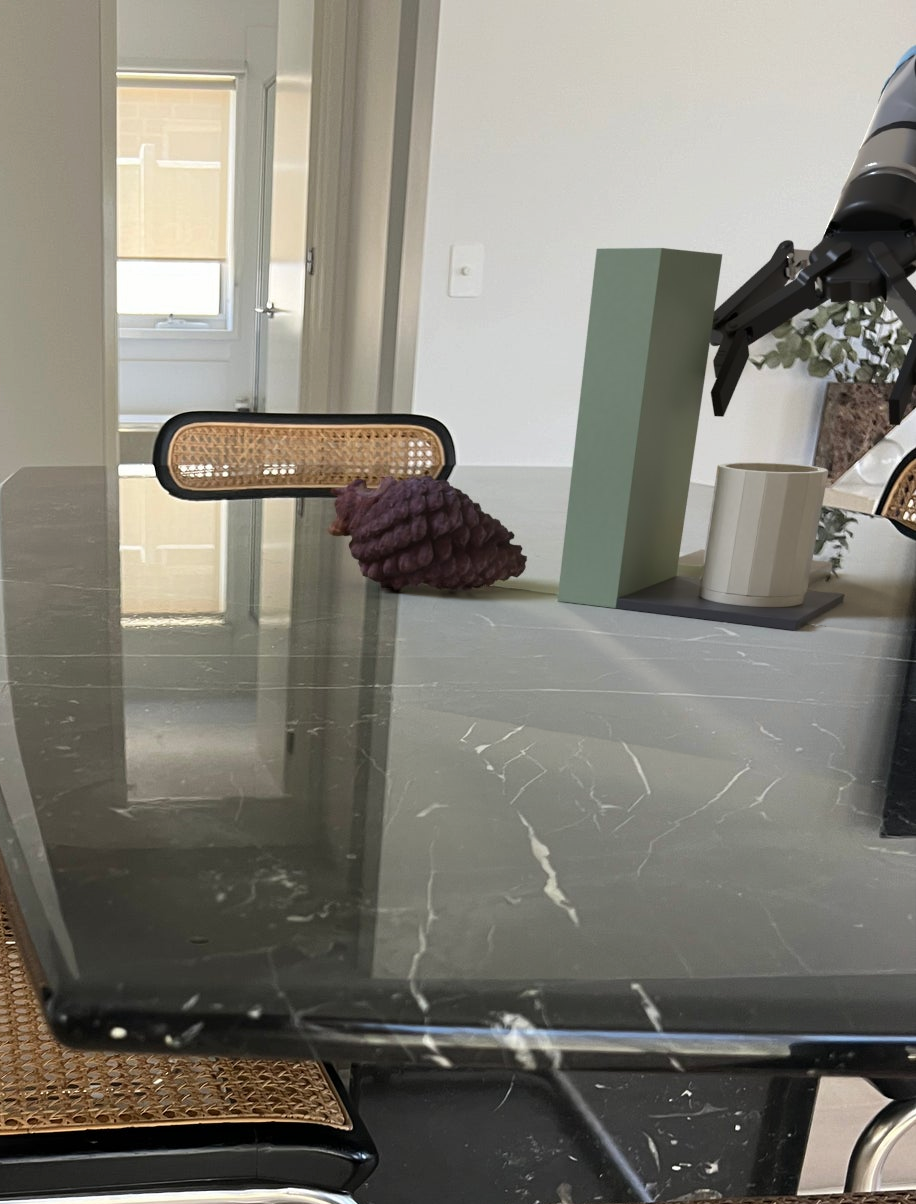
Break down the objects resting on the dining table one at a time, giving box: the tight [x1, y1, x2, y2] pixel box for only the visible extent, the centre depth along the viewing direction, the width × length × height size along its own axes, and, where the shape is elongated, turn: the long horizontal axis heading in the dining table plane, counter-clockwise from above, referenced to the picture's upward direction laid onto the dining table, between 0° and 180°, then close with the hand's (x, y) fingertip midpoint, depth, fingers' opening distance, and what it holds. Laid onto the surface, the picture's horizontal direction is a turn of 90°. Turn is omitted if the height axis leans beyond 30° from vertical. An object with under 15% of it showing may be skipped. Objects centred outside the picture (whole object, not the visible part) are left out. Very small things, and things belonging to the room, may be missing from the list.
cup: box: [699, 462, 829, 607], centre depth 116 cm, size 8×8×10 cm
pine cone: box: [326, 474, 528, 591], centre depth 123 cm, size 18×10×10 cm
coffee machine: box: [556, 247, 845, 631], centre depth 115 cm, size 19×14×26 cm
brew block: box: [676, 549, 834, 587], centre depth 132 cm, size 12×10×3 cm
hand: (802, 408), depth 116 cm, fingers open, 13 cm apart
